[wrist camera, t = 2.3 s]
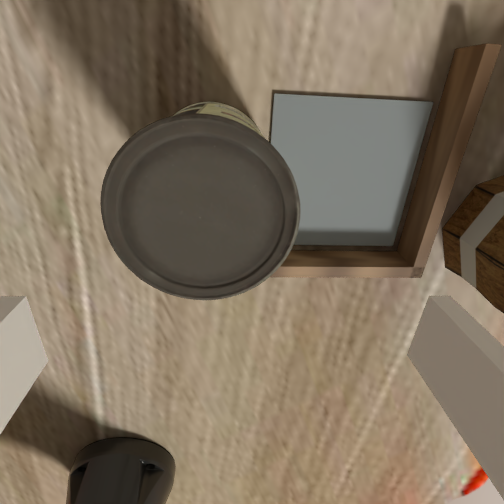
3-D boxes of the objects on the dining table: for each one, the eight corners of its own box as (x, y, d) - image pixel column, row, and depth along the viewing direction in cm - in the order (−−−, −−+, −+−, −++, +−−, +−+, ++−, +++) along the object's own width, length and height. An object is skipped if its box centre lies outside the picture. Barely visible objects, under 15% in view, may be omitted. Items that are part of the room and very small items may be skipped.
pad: (263, 243, 33) (263, 244, 33) (274, 93, 27) (274, 93, 26) (391, 244, 34) (392, 245, 34) (431, 101, 28) (433, 102, 27)
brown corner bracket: (243, 259, 34) (245, 277, 31) (252, 34, 25) (256, 27, 21) (404, 261, 35) (421, 277, 32) (469, 49, 26) (501, 44, 23)
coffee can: (161, 216, 31) (118, 303, 18) (149, 99, 26) (79, 110, 14) (266, 216, 32) (292, 300, 19) (272, 103, 27) (312, 116, 14)
